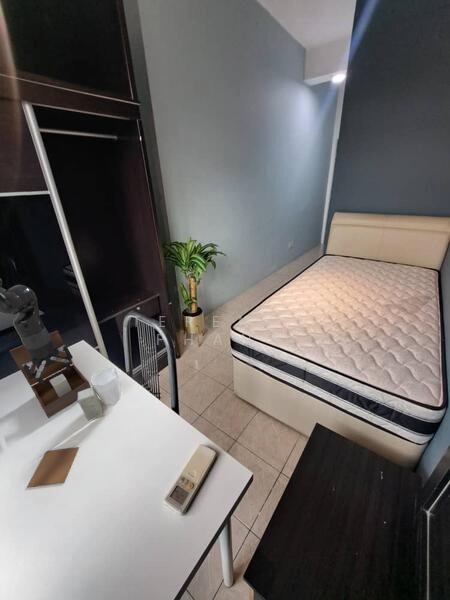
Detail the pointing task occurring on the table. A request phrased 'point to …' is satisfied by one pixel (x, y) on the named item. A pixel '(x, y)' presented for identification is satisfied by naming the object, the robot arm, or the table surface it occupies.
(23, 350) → the lid
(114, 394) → the cup
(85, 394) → the box
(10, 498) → the table surface
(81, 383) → the chest
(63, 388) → the light grey block
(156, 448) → the table surface
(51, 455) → the pad
